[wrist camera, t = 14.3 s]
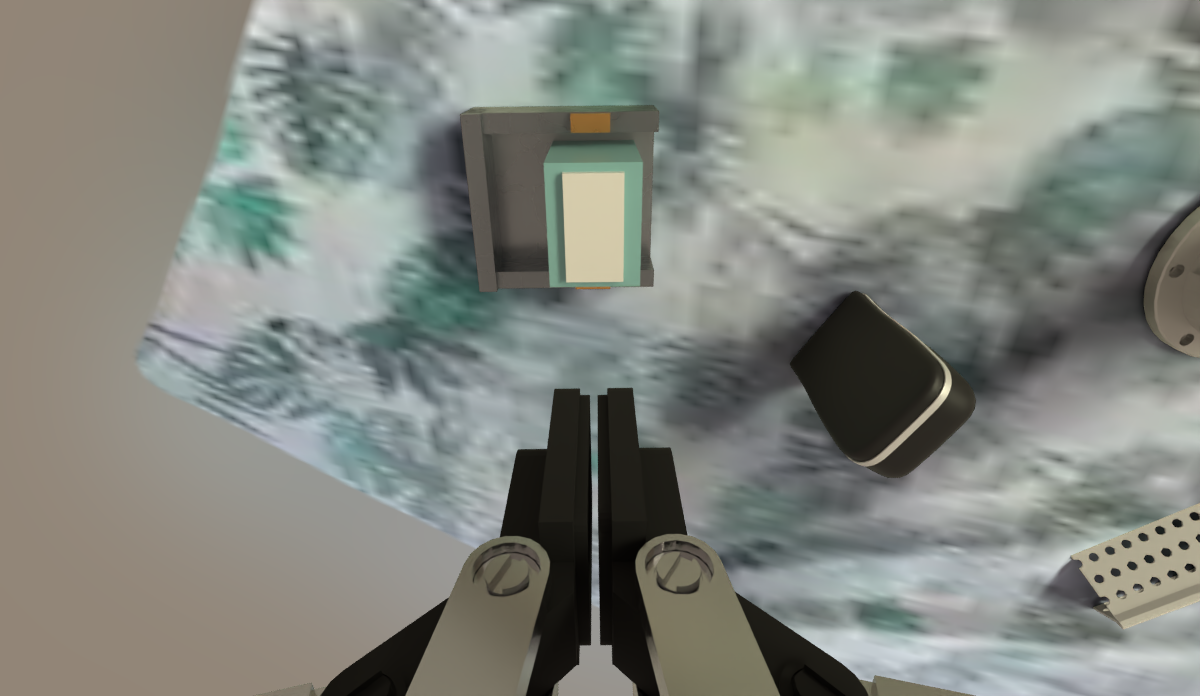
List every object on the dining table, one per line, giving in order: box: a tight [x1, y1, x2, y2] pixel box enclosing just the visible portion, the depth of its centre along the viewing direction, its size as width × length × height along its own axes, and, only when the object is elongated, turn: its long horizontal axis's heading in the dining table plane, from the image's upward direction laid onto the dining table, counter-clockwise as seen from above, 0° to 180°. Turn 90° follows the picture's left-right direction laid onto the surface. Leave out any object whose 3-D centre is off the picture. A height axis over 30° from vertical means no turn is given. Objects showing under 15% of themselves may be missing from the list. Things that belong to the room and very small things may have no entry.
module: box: [544, 140, 643, 287], centre depth 31 cm, size 4×6×7 cm
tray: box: [460, 105, 659, 292], centre depth 33 cm, size 10×10×4 cm
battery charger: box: [790, 291, 976, 478], centre depth 35 cm, size 7×4×11 cm, turn 148°
